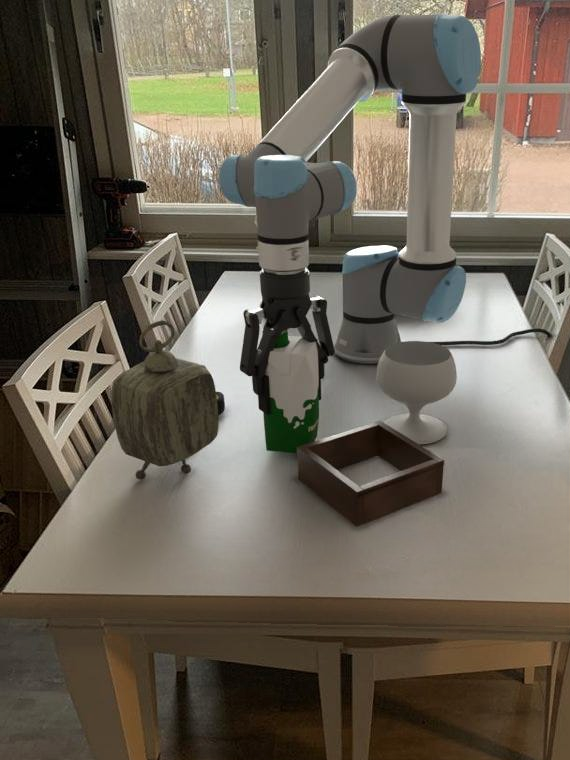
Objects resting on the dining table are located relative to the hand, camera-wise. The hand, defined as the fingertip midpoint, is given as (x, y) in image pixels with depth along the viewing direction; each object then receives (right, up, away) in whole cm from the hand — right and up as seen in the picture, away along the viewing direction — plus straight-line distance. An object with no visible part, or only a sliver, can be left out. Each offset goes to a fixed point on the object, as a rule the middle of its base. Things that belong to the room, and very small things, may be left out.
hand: (290, 404), depth 121 cm
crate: (+13, -14, -5) cm, 20 cm away
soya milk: (0, -7, +4) cm, 8 cm away
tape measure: (-18, 0, +17) cm, 25 cm away
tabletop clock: (-18, -11, -1) cm, 22 cm away
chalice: (+21, -4, +11) cm, 25 cm away
